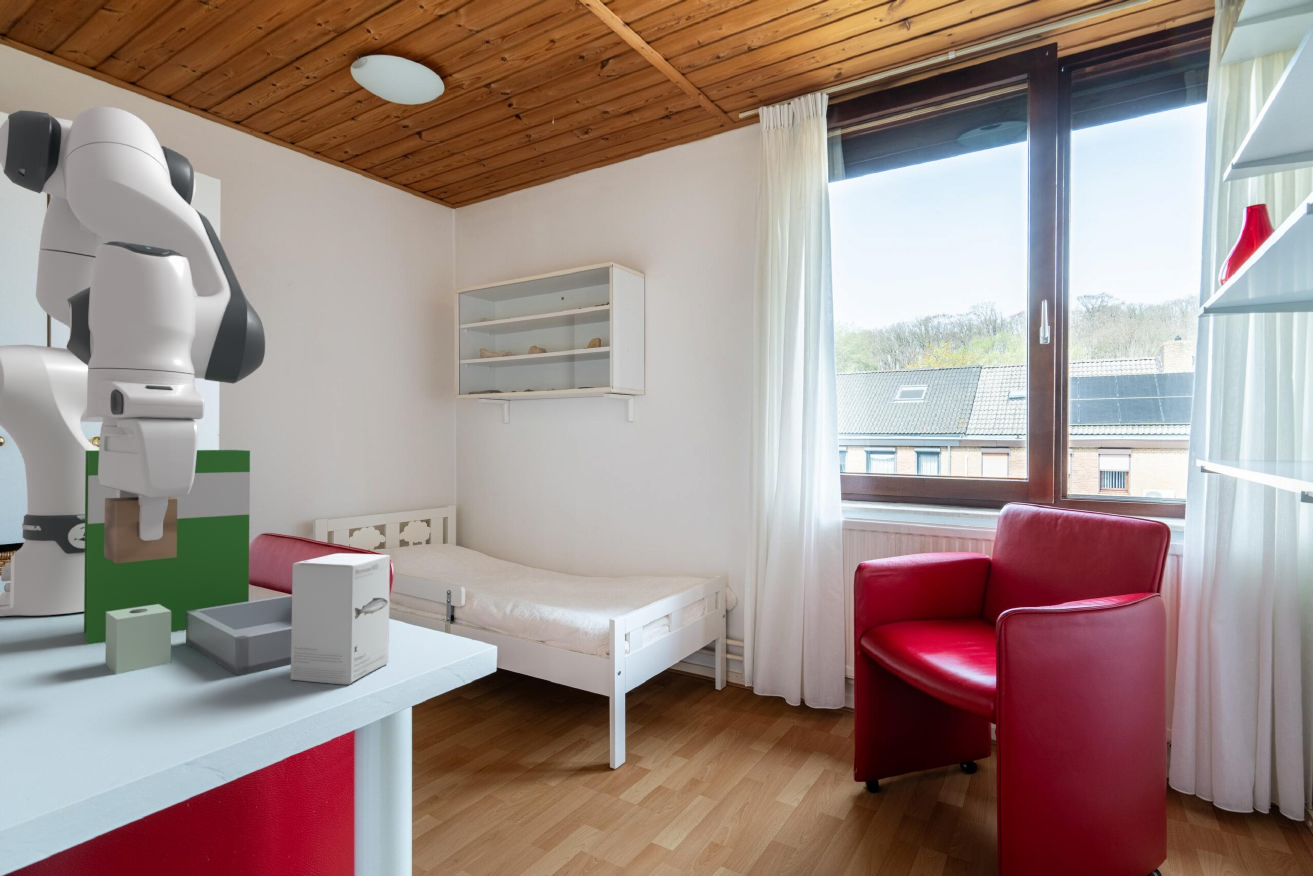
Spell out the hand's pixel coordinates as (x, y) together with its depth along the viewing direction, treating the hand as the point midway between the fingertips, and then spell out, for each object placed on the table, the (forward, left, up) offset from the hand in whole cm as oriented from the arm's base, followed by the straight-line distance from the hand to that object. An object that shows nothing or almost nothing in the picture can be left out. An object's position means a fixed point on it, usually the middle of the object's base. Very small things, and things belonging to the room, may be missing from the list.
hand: (140, 536), depth 71 cm
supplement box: (+10, +16, -16) cm, 25 cm away
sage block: (-10, +2, -16) cm, 19 cm away
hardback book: (-26, +9, -16) cm, 32 cm away
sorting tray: (-6, +15, -16) cm, 23 cm away
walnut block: (0, 0, -2) cm, 2 cm away
